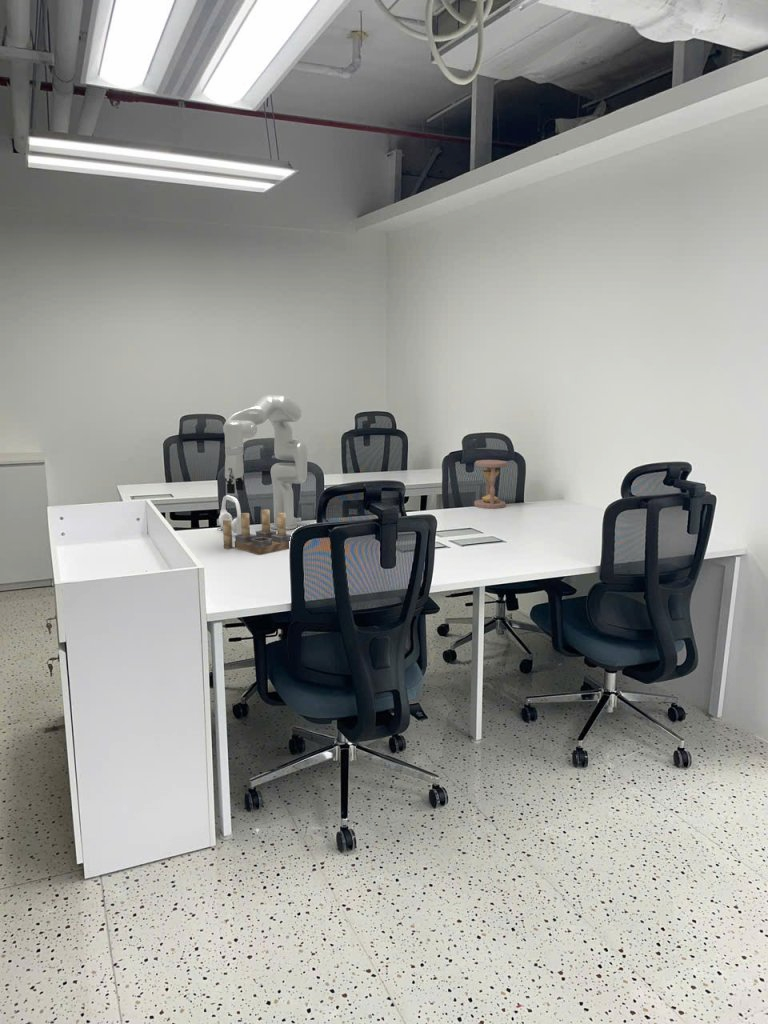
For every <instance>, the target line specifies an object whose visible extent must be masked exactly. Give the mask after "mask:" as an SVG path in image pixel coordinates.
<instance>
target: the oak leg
mask: <svg viewBox="0 0 768 1024" xmlns="http://www.w3.org/2000/svg"><path fill="white" fill-rule="evenodd" d="M222 534H223V535H222V536H223V549H226V550H230V549H233V531H232V526H231V520H223V530H222Z"/></svg>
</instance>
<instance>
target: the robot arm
mask: <svg viewBox="0 0 768 1024" xmlns="http://www.w3.org/2000/svg"><path fill="white" fill-rule="evenodd" d="M301 417H302V409H301V407H300V405H299V404H298V403H297V402H295V401H294V400H293V399H292V398H291V397H288V396H286V395H283V394H282V395H281V394H278V395H277V394H276V395H274V394H268V395H267V394H266V395H264V396H261V398H260V399H259V400H257V402H255V404H253V405H252V406H251V407H249V408H245V409H244V410H240V411H238V412H235V413H233V414H232V415H230V416H229V417H228V418H227V419H226V420H225V422H224V424H223V425H222V426H223V428H222V431H223V434H224V448H225V450H224V451H225V453H224V454H225V461H224V478H225V480H226V493H227V494H233V495H234V494H235V493H236V490H237V491H244V488H245V487H244V486H245V485H244V480H245V479H244V474H245V469H244V458H243V456H244V455H245V454H244V439H251V438H254V437H255V436H256V434H257V432H258V428H257V426H258V425H261V424H264V423H265V422H266V421H267V420H269V421H270V423H271V426H273V427H272V428H273V431H274V443H273V447H274V450H273V453H274V457H275V458H276V459H277V460H280V461H281V460H282V461H294V462H293V463H292V462H277V463H274V464H273V465H272V466H271V468H270V477H271V481H272V482H271V483H272V492H273V497H272V498H273V524H270V529H271V530H275V531H278V530H277V513H286V531H289V530H293V529H297V528H298V524H297V522H302V517H295V516H294V515H295V514H294V513H295V512H294V511H295V510H294V490H293V488H292V486H291V485H290V484H303V483H305V482H306V480H307V478H308V447H307V444H306V443H305V442H304V441H302V440H294V439H293V428H292V426H291V424H290V423H295V422H298V421H299V420H300V419H301ZM235 480H236V481H235ZM235 489H236V490H235Z"/></svg>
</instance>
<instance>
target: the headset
mask: <svg viewBox="0 0 768 1024" xmlns="http://www.w3.org/2000/svg"><path fill="white" fill-rule="evenodd" d="M227 501H229V502H232V503H235V508H236V517H235V518H234V519H233V517H232V516H233V515H231V513H229V512H228V511H227V509H226V504H227ZM219 511H220V512H219V513H220V514H219V516H218V523H219V525H220V527H219V528H217V529H216V531H217V530H219V529H223V520H231V526H232V533H234V534H235V535H240V534H241V513H242V511H241V505H240V502H239V500H238V499H237V498H236V497H235V496H232V495H229V494H226V495H224V496H223V498H222V502H221V510H219ZM219 531H220V530H219Z"/></svg>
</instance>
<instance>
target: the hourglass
mask: <svg viewBox="0 0 768 1024" xmlns="http://www.w3.org/2000/svg"><path fill="white" fill-rule="evenodd" d="M474 465H475V467H479V468H486V469H484V470H482V474H483V476H484V477H485V479H486V485H485V496H482V497H481V499H477V500H474V501H473V502H474V504H473V505H474V507H476V508H479V509H489V510H490V509H493V510H494V509H502V508H503V509H504V508H505V507H506V501H504V500H500V499H499V497H497V496H495V495H496V489H495V483H496V479H497V476H498V475H499V474H500V470H496V468H498V469H499V468H505V467H507V466H508V462H507V460H506V461H505V460H499V459H480V460H476V461H475V463H474Z"/></svg>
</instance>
